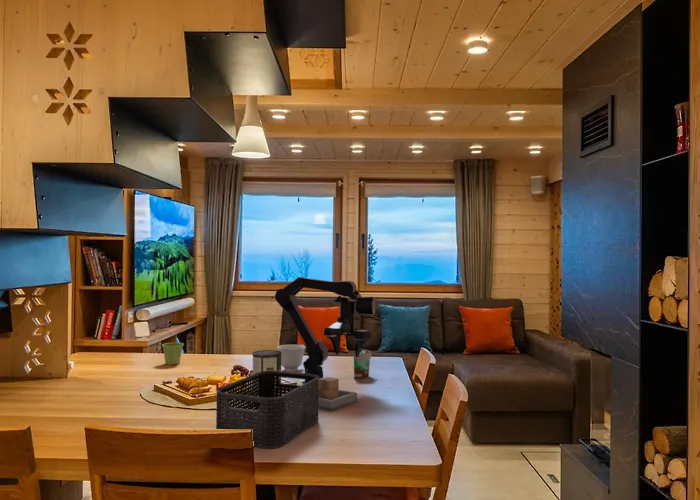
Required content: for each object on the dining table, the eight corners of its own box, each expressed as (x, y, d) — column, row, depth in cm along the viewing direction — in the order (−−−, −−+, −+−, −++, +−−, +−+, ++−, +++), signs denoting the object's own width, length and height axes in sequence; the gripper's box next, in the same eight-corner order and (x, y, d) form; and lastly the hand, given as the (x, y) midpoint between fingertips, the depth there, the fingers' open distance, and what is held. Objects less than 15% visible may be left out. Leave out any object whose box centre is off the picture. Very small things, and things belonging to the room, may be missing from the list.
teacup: (314, 368, 239) (315, 345, 240) (293, 374, 227) (293, 349, 227) (292, 365, 246) (293, 342, 246) (270, 370, 233) (271, 347, 234)
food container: (368, 380, 218) (369, 354, 218) (353, 379, 219) (353, 353, 219) (373, 373, 230) (374, 349, 230) (359, 373, 231) (359, 348, 231)
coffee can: (268, 387, 204) (269, 348, 204) (287, 392, 197) (287, 352, 197) (245, 392, 197) (246, 352, 197) (264, 397, 190) (264, 355, 190)
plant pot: (179, 366, 242) (180, 346, 242) (158, 365, 242) (158, 345, 242) (186, 362, 251) (186, 342, 251) (165, 361, 251) (165, 342, 252)
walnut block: (316, 400, 183) (317, 379, 183) (326, 397, 187) (326, 376, 187) (328, 403, 180) (329, 381, 180) (338, 399, 184) (338, 378, 184)
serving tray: (297, 403, 182) (297, 394, 182) (324, 395, 193) (324, 386, 193) (331, 410, 173) (331, 401, 173) (357, 401, 185) (357, 392, 185)
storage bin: (276, 451, 137) (277, 397, 137) (210, 441, 144) (210, 390, 144) (322, 420, 164) (322, 374, 164) (264, 413, 171) (264, 369, 171)
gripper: (314, 314, 208) (314, 356, 208) (354, 317, 197) (354, 362, 196) (333, 312, 217) (332, 352, 217) (372, 315, 206) (372, 357, 205)
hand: (346, 356), depth 209 cm, fingers open, 9 cm apart
